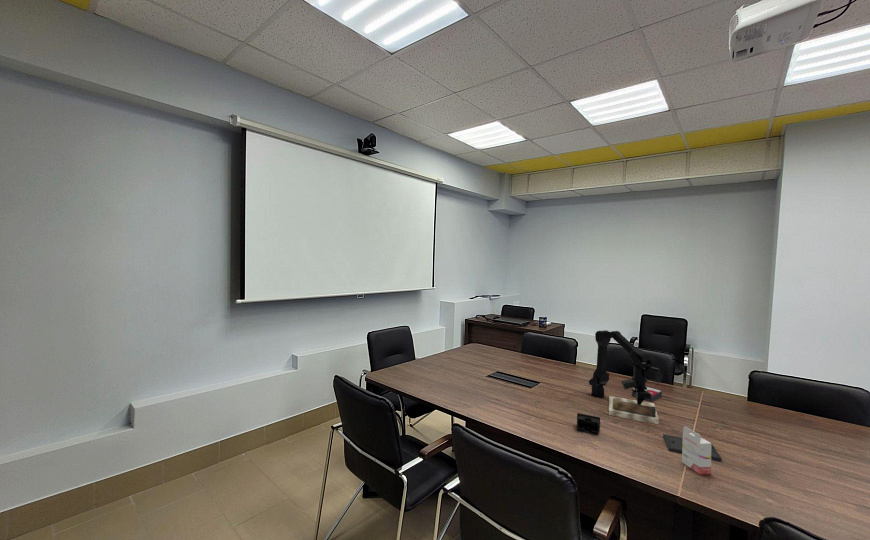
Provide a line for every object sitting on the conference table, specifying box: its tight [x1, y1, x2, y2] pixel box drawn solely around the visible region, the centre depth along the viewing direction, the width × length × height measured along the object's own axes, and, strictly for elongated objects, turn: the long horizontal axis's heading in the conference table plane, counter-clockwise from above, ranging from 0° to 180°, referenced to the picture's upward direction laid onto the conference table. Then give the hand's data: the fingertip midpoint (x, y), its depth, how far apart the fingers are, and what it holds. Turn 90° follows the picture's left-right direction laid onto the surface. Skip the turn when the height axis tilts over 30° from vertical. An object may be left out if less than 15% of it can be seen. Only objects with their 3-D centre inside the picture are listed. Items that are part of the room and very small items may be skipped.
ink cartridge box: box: [681, 425, 713, 475], centre depth 132 cm, size 9×5×15 cm, turn 5°
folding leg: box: [613, 398, 657, 417], centre depth 177 cm, size 19×4×5 cm, turn 62°
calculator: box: [631, 386, 663, 403], centre depth 207 cm, size 11×4×15 cm
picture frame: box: [662, 433, 723, 463], centre depth 147 cm, size 13×2×18 cm
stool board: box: [608, 395, 660, 425], centre depth 184 cm, size 22×23×3 cm
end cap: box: [576, 412, 601, 436], centre depth 162 cm, size 10×7×7 cm
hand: (638, 405), depth 182 cm, fingers closed
